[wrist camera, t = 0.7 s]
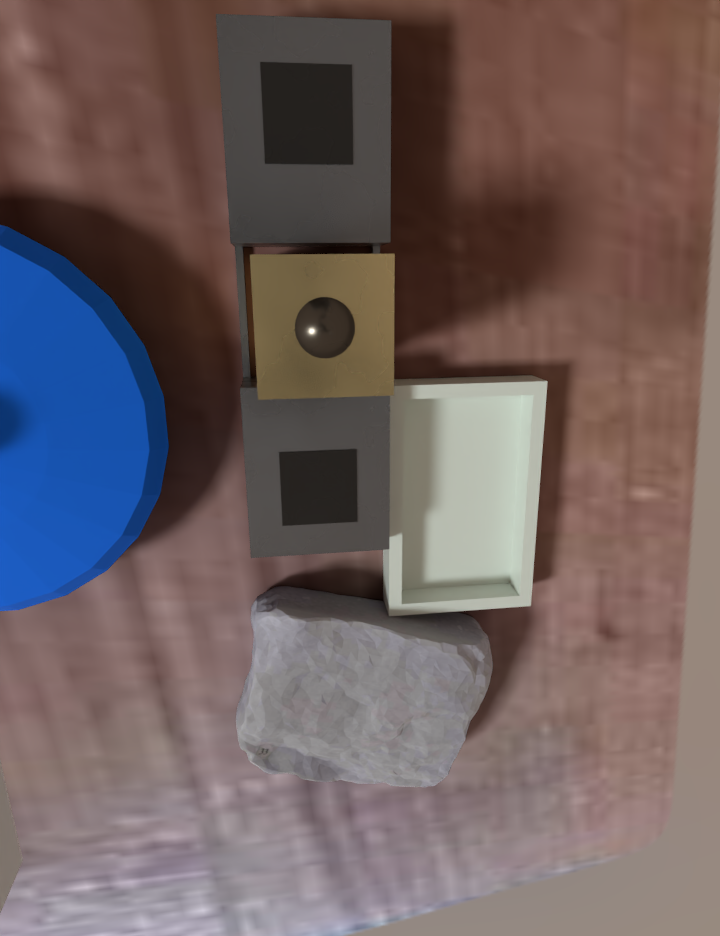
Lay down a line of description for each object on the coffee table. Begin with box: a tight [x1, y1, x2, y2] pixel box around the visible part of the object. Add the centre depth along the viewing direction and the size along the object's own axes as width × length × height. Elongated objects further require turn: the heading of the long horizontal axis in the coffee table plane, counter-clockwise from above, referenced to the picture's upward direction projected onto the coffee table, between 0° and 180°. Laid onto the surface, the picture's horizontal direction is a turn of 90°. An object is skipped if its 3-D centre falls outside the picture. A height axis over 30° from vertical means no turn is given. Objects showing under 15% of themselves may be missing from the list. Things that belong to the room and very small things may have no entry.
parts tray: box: [383, 375, 548, 616], centre depth 30 cm, size 11×7×2 cm, turn 1°
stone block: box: [236, 586, 493, 787], centre depth 32 cm, size 12×5×10 cm
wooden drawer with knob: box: [250, 254, 395, 400], centre depth 23 cm, size 4×4×9 cm
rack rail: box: [216, 14, 391, 558], centre depth 26 cm, size 20×6×3 cm, turn 1°
